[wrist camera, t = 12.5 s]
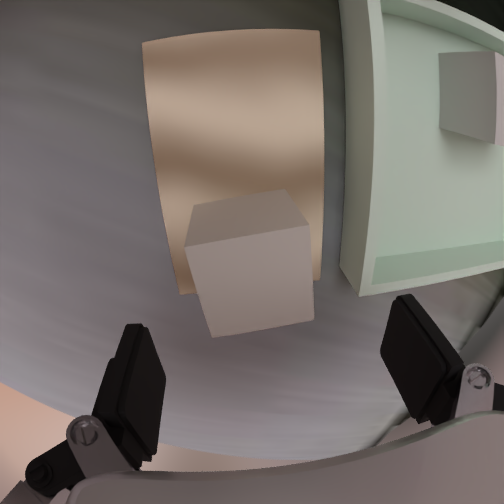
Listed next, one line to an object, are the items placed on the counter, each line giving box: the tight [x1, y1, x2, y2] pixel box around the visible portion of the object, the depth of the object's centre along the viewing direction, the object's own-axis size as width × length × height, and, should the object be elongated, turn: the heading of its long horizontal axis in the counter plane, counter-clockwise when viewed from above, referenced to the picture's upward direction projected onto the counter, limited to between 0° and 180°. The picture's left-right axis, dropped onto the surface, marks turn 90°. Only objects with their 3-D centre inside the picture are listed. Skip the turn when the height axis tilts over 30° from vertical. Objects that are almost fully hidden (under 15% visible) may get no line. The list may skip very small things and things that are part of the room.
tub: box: [338, 0, 504, 297], centre depth 15 cm, size 17×18×4 cm
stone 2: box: [438, 51, 504, 146], centre depth 12 cm, size 5×5×5 cm
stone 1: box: [184, 189, 314, 338], centre depth 15 cm, size 5×5×5 cm
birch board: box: [142, 29, 324, 295], centre depth 16 cm, size 15×9×1 cm, turn 4°
